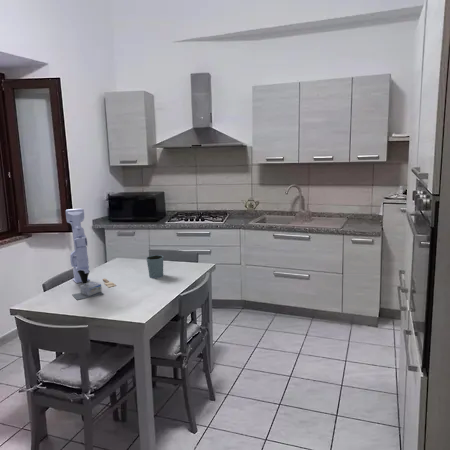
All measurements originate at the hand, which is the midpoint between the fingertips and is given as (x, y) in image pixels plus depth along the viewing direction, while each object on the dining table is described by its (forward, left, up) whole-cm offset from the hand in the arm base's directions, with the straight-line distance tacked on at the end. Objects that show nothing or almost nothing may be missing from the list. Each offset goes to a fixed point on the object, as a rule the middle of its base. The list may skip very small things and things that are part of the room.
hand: (84, 283), depth 220 cm
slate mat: (+4, 0, -5) cm, 7 cm away
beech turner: (-8, +15, -5) cm, 18 cm away
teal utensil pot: (-2, +43, -6) cm, 43 cm away
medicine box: (-1, +1, -3) cm, 3 cm away
